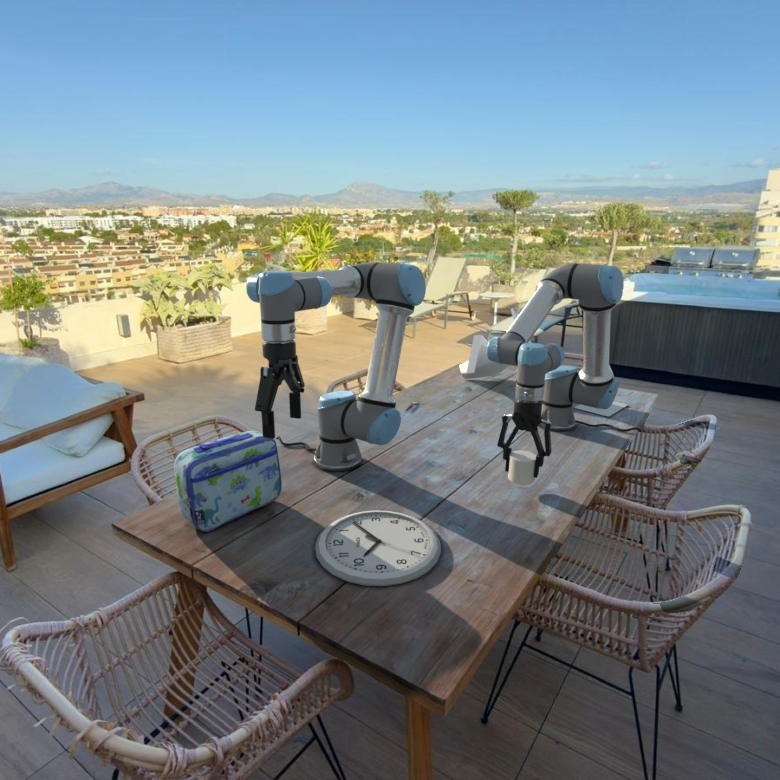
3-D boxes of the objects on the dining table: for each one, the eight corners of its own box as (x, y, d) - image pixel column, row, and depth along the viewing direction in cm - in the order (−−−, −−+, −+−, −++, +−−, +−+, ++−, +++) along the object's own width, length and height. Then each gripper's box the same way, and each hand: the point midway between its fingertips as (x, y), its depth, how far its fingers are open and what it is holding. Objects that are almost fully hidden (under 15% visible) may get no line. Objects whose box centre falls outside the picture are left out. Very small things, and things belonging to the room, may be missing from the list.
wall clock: (452, 576, 112) (311, 582, 109) (452, 583, 112) (311, 589, 109) (430, 505, 140) (317, 508, 138) (430, 510, 141) (318, 514, 138)
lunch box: (194, 540, 125) (185, 461, 119) (175, 522, 133) (166, 447, 126) (286, 503, 143) (282, 432, 137) (265, 489, 150) (261, 421, 144)
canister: (524, 470, 158) (526, 448, 156) (540, 482, 152) (542, 459, 149) (502, 474, 156) (504, 452, 153) (517, 486, 149) (519, 463, 147)
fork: (403, 411, 216) (403, 406, 215) (414, 400, 230) (414, 395, 230) (409, 412, 215) (409, 407, 215) (420, 400, 229) (420, 396, 229)
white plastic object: (480, 421, 262) (459, 398, 238) (462, 347, 285) (440, 320, 260) (552, 397, 250) (537, 370, 226) (527, 322, 272) (511, 290, 248)
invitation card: (608, 416, 214) (573, 407, 224) (608, 416, 214) (573, 408, 224) (628, 404, 229) (594, 396, 238) (628, 405, 229) (594, 397, 238)
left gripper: (266, 353, 107) (271, 449, 113) (316, 331, 130) (318, 412, 136) (234, 350, 109) (241, 444, 115) (289, 329, 132) (292, 409, 138)
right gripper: (489, 397, 147) (483, 470, 154) (564, 409, 138) (555, 485, 146) (496, 390, 154) (491, 460, 161) (568, 400, 145) (560, 474, 152)
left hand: (283, 427), depth 126 cm, fingers open, 13 cm apart
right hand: (521, 472), depth 153 cm, fingers closed on canister, 8 cm apart
